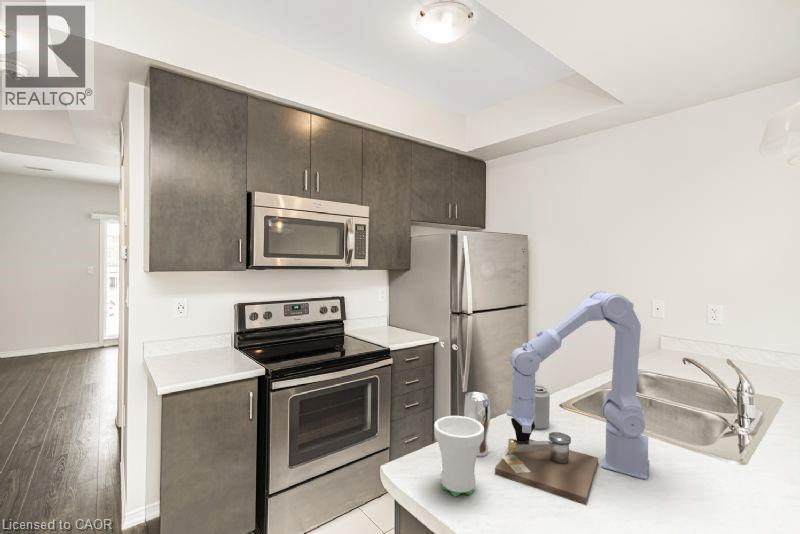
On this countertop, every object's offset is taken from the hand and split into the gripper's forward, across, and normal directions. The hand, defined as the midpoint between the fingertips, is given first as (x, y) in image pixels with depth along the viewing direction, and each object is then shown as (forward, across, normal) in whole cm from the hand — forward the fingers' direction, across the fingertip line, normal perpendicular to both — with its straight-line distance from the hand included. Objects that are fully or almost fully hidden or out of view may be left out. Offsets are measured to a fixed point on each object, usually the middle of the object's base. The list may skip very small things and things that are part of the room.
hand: (522, 448), depth 98 cm
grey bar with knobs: (+2, +1, +4) cm, 4 cm away
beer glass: (+4, -3, -11) cm, 12 cm away
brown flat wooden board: (+3, +2, +6) cm, 7 cm away
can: (+4, -24, +7) cm, 25 cm away
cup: (+4, +14, -16) cm, 22 cm away
